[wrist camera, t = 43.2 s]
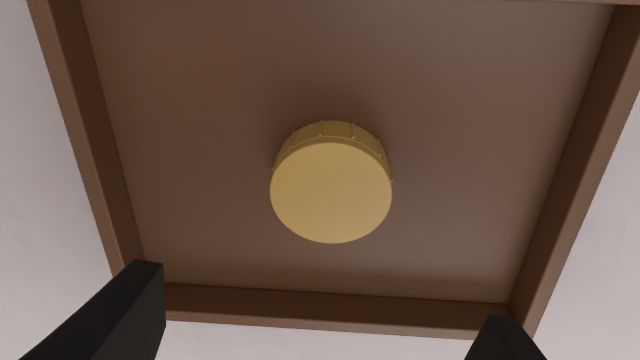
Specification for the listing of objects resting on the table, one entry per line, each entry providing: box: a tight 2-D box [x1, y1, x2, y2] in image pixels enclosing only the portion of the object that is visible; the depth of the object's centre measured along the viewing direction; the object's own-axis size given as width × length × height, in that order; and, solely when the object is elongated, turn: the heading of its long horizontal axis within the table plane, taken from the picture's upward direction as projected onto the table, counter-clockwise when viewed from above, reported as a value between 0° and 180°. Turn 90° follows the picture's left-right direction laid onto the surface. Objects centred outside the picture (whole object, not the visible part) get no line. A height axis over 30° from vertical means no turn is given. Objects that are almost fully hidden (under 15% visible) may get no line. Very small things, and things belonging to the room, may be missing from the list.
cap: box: [270, 120, 393, 243], centre depth 15 cm, size 4×4×2 cm
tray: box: [26, 0, 640, 340], centre depth 15 cm, size 16×13×2 cm
